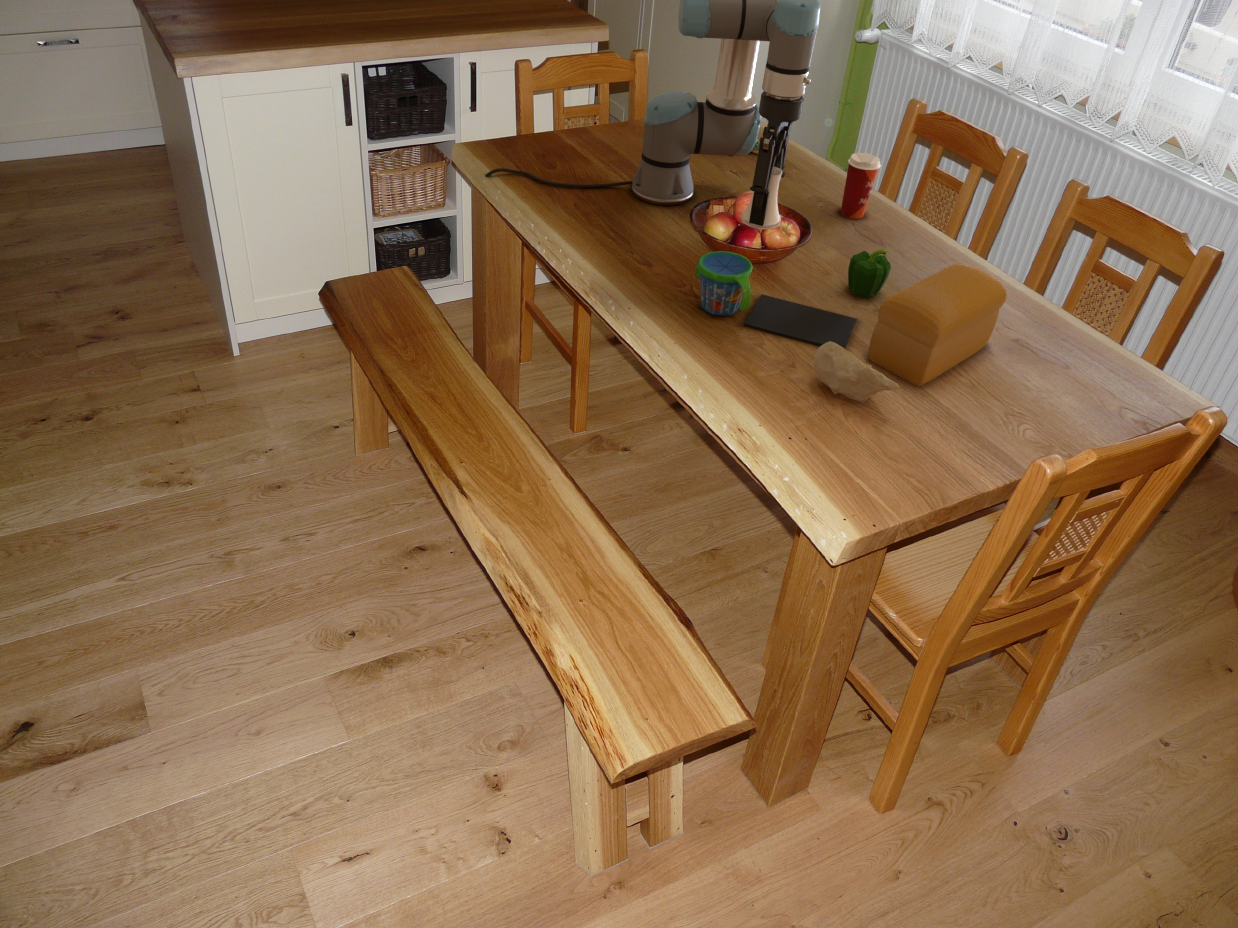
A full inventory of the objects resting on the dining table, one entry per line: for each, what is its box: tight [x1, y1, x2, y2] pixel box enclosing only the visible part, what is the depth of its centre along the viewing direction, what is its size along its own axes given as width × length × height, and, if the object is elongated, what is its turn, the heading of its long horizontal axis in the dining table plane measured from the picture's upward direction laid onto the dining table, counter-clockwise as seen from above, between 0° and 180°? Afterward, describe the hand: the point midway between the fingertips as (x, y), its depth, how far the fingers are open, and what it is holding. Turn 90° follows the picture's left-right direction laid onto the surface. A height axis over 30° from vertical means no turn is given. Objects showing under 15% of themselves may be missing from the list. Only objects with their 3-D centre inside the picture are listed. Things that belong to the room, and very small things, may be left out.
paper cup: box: [840, 152, 882, 220], centre depth 223 cm, size 8×8×14 cm
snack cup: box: [694, 250, 754, 317], centre depth 185 cm, size 16×10×10 cm
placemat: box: [743, 294, 857, 349], centre depth 186 cm, size 20×13×1 cm, turn 68°
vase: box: [740, 167, 783, 230], centre depth 175 cm, size 8×8×10 cm
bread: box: [867, 263, 1008, 387], centre depth 176 cm, size 24×13×15 cm, turn 132°
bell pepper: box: [847, 249, 892, 299], centre depth 194 cm, size 8×8×10 cm
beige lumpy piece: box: [813, 341, 900, 403], centre depth 167 cm, size 15×7×15 cm
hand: (761, 216), depth 178 cm, fingers closed on vase, 6 cm apart
